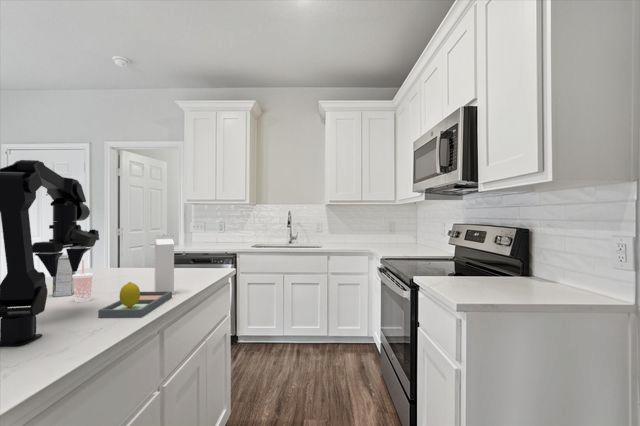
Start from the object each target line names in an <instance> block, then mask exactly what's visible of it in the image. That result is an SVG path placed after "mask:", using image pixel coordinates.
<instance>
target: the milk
mask: <svg viewBox="0 0 640 426" xmlns="http://www.w3.org/2000/svg"><path fill="white" fill-rule="evenodd" d="M162 291H172V296H173V295H175V242H174V234H162V235H161V234H157V235H155V241H154V292H162Z"/></svg>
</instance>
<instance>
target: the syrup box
mask: <svg viewBox="0 0 640 426" xmlns="http://www.w3.org/2000/svg"><path fill="white" fill-rule="evenodd" d="M74 274H76V272H73V271H72V268H71V265H70V262H69V258H68V254H62V255H61V256H60V257H59V259H58V268H57V275H56V277H52V297H53V298H57V297H67V296H73V294H74V283H73V278H72V275H74Z"/></svg>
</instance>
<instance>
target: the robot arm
mask: <svg viewBox="0 0 640 426" xmlns="http://www.w3.org/2000/svg"><path fill="white" fill-rule="evenodd" d="M40 187H43V188H45V189H46V193H47V195H48V196H49V197H51V200H53V201H51V202H50V206H51V207H52V224H49V225H48V226H49V227H48V229H49V230H51V229H52V238H49V240H48V241H38V242H34V243H33V241H32V232H31V221H30V214H29V213H30V210H29V209H31V207H32V205H33V203H34V202H35V200H36V199H37V191H38V190H39V189H40ZM86 202H87V200H86V196H85V193H84V190H83V185H82V184H81V183H80V181H78V179H75V178H73V177H72V178H70V177H65V176H61V175H60V174H58V173H57V172H55V171H54V170H52V169H51V168H50V167H47V166H46V165H45V163H44V162H43V161H40V160H35V159H34V160H32V159H31V160H29V159H26V160H25V159H21V160H16V161H15V162H14V163H12V164H10V165H7V166H4V167H1V168H0V218H1V219H0V221H1V229H2V236H3V237H2V238H3V246H4V253H5V256H4V257H5V263H6V270H7V271H6V273H7V274H6V275H5V277H4V278H3V280H2V281H1V282H0V347H4V346H5V347H8V346H9V347H11V346H13V347H14V346H24V345H26V344H28V343H30V342H32V341H34V340H36V339H39V338H41V337H43V334H42V333H37V315H39V314H41V313H44V311H45V310H46V309H45V308H46V303H47V298H48V286H47V283H46V274H45V272H44V271H38V270H37V269H36V268H35V261H34V256H37V257H38V259H39V261H41V263H42V265H44V267H45V269H46V271H47V272H48V274H49V275H50V277H51V278H53V277H56V275H57V268H58V259H59V257H60V256H61V255H64V252H62V251H63V250H64V249H66V255H68V258H69V262H70V265H71V268H72V271H73V272H75V273H77V271H78V269H79V266H80V264H81V262H82V260H83V256H84V254H85V253H86V252H88V251H89V250H91V248H93V247H94V246H95V244H96V243H97V241H99V240H100V235H99V230H98V229H94V228H93V229H89V230H82V226H81V225H80V224H77V222H80V221H85V220H86V219H88V218H89V216H90V213H91V210H90V208H89V206H88V205H86V204H85V203H86Z"/></svg>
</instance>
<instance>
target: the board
mask: <svg viewBox="0 0 640 426" xmlns="http://www.w3.org/2000/svg"><path fill="white" fill-rule="evenodd" d="M172 298H173V295H172V291H162V292H155V291H140V299H139V301H138V302H137V303H136V304H135V305H134V306H132V307H131V308H128V307H127V306H124V305H123V304H122V303H121V301H120V299H119V300H117V301H115V302H113V303H111V304H109V305H107V306H105V307H102V308H100V309H98V312H97V313H98V314H97V316H98V319H116V318H117V319H120V318H121V319H122V318H123V319H125V318H126V319H129V318H143V317H145V316H147V314H149V313H150V312H152V311H153V310H155V309H156V308H159V306H161V305H163V304H164V303H166V302H167V301H169V300H170V299H172Z"/></svg>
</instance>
